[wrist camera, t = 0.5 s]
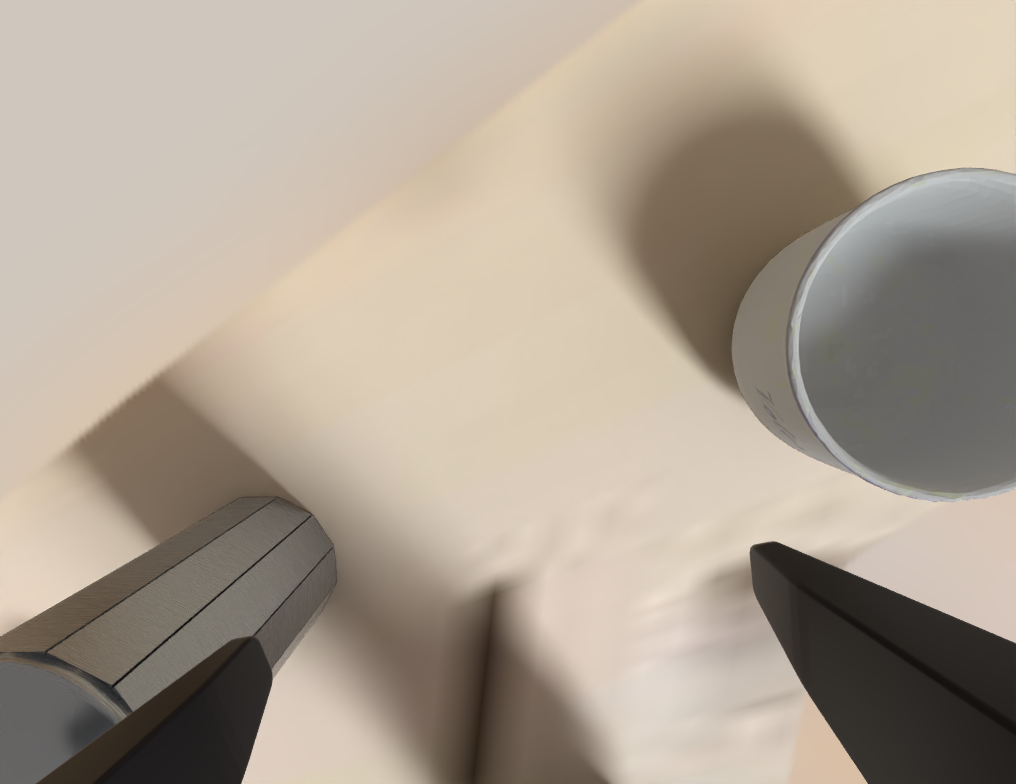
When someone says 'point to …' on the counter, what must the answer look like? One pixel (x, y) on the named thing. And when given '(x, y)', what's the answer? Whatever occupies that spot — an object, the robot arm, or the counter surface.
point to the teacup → (895, 338)
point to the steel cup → (158, 627)
